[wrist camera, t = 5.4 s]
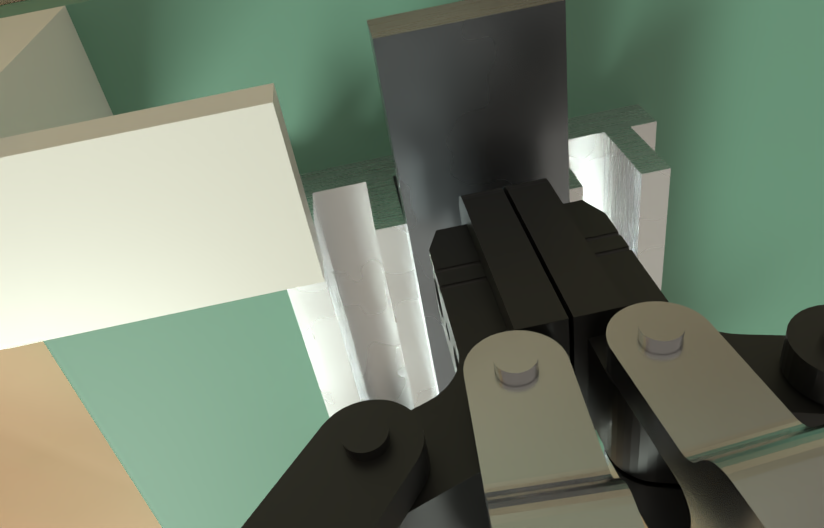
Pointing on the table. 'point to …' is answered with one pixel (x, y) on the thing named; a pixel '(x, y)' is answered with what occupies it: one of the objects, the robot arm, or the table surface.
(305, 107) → the board
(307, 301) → the white slotted block
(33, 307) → the latch
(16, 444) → the table surface
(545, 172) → the thin grey panel
